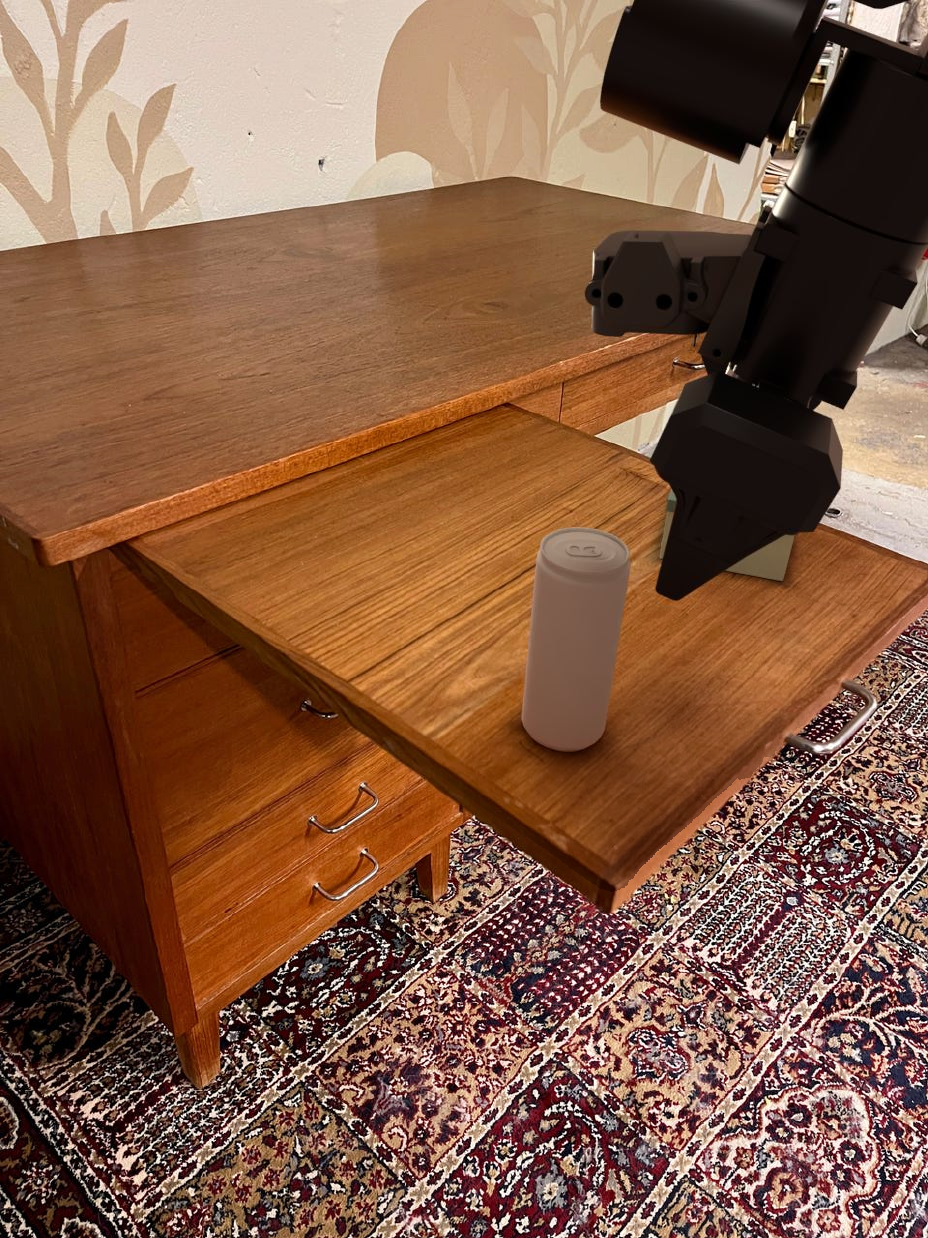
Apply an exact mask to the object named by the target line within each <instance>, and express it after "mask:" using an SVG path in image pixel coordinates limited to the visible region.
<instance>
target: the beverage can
mask: <svg viewBox="0 0 928 1238" xmlns="http://www.w3.org/2000/svg"><path fill="white" fill-rule="evenodd" d="M630 552H631V551H630V549H629V547H628V545H627V544H626V543H625V542H624V541H623V540H622V539H621V538H619V537H618V536H616V535H615V534H612V533H609V532H608V531H605V530H601V529H596V528H593V527H582V526H578V527H577V526H576V527H575V526H574V527H573V526H572V527H571V526H570V527H564V528H559V529H557V530H554V531H551V532H550V533H548V534H547V535H545V536H544V537H543V539H542V540H541V541H540V545H539V549H538V551H537V554H536V560H535V570H534V571H535V572H534V578H533V589H532V601H531V602H532V603H531V611H530V622H529V634H528V644H527V655H526V665H525V676H524V688H523V698H522V706H521V707H522V708H521V722H522V723H521V724H522V726H523V728H524V729H525V731H526V732H527V734H528V735H529V736H530V737H531V739H532V740H533V741H535V742H536V743H538V744H539V745H542V746H544V747H546V748H548V749H551V750H553V751H558V752H564V753H567V752H568V753H569V752H578V751H582V750H585V749H586V748H588V747H590V746H593V744H595V743H596V742H598V741H599V739H601V738H602V736H603V734H604V732H605V730H606V725H607V719H608V714H609V713H608V712H609V706H610V701H611V700H610V699H611V693H612V686H613V681H614V674H615V668H616V663H617V658H618V657H617V656H618V650H619V644H620V643H619V642H620V636H621V630H622V624H623V618H624V613H625V605H626V600H627V595H628V593H627V592H628V587H629V582H630V581H629V580H630V574H631V560H630V557H631V556H630V555H631V553H630Z"/></svg>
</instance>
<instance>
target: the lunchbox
mask: <svg viewBox="0 0 928 1238" xmlns="http://www.w3.org/2000/svg"><path fill="white" fill-rule="evenodd" d="M675 506H676V497H675V494H674V492H673V491H672V489H671V488H670V492H669V495H668V498H667V503H666V508H665V512H666V517H665V522H664V529H663V533H662V540H661V544H660V545H661V546H660V552H659V557H658V558H659V559H661V560H662V559H663V555H664V551H665V547H666V543H667V539H668V535H669V531H670V527H671V522H672V518H673V514H674V510H675ZM795 536H796V535H784V536H783V537H781V538H779V539H777V540H776V541H774V542H772V543H770V544H769V545H767V546H765V547H763V548H761V549H760V550H758V551H756V552H754V553H753V554H751V555H749V556H748V557H746V558H744V559H743V560H741V561H740V562H738V563H736V564H735V565H733V566H731V567H730V568H728V569H727V570H725V571H724V572H731V573H736V574H742V575H746V576H751V577H757V578H764V579H768V580H773V581H779V582H783V581H784V578H785V574H786V570H787V567H788V563H789V559H790V556H791V552H792V549H793V544H794V540H795Z"/></svg>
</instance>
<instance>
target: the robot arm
mask: <svg viewBox="0 0 928 1238" xmlns="http://www.w3.org/2000/svg"><path fill="white" fill-rule="evenodd" d="M829 1H830V0H633V3H632V4H631V5H626V6H625V7H624V10H623V12H622V14H621V17H620V20H619V23H618V26H617V28H616V32H615V35H614V38H613V41H612V45H611V47H610V51H609V54H608V58H607V62H606V66H605V70H604V74H603V77H602V78H603V79H602V84H601V89H600V96H599V109H600V110H601V111H602V112H604V113H607V114H610V115H612V116H615V117H617V118H619V119H622V120H625V121H627V122H630V123H632V124H635V125H637V126H640V127H643V128H645V129H647V130H649V131H653V132H654V133H658V134H660V135H663V136H666V137H667V138H671V139H673V140H675V141H678V142H680V143H684V144H685V145H688V146H691V147H694V148H696V149H698V150H701V151H703V152H706V153H707V154H708V153H709V154H711V155H714V156H716V157H719V158H721V159H723V160H727V161H729V162H731V163H734V164H736V165H740V164H741V163H742V161H743V159H744V157H745V156H746V153H747V151H748V149H749V147H750V146H753V147H756V148H758V149H761V148H762V146H763V144H764V141H765V139H767V141H766V142H767V143H769V144H772V145H774V146H777V147H779V148H780V147H781V146H782V144H783V142H784V140H785V138H786V135H787V133H788V131H789V129H790V127H791V124H792V122H793V121H794V118H795V116H796V113H797V112H798V110H799V107H800V105H801V102H802V100H803V98H804V96H805V94H806V92H807V90H808V88H809V86H810V84H811V81H812V79H813V76H814V74H815V72H816V70H817V67H818V65H819V64H820V61H821V59H822V56H823V54H824V52H825V50H826V48H827V45H828V44H829V43H831V44H833V45H837V46H840V47H843V48H845V49H846V50H845V52H844V54H843V57H842V59H841V62H840V63H839V66H838V68H837V69H836V72H835V73H834V76H833V78H832V80H831V82H830V85H829V87H828V89H827V91H826V93H825V95H824V97H823V100H822V102H821V104H820V106H819V108H818V110H817V113H816V115H815V117H814V119H813V121H812V123H811V125H810V128H809V129H808V132H807V134H806V136H805V138H804V140H803V143H802V144H801V147H800V148H799V151H798V153H797V155H796V157H795V160H794V162H793V163H792V166H791V167H790V170H789V172H788V175H787V177H786V179H785V182H784V183H783V186H782V188H781V190H780V192H779V194H778V196H777V198H776V199H775V200H774V203H773V205H772V206H770V205H766V204H765V205H764V207H763V209H762V211H761V214H760V216H759V217H758V220H757V222H756V224H755V226H754V228H753V231H752V233H751V234H748V233H747V234H746V233H723V232H718V231H717V232H716V231H703V230H702V231H701V230H700V231H699V230H698V231H697V230H634V229H633V230H620V231H616V232H611V233H610V234H609V235H607V236H606V238H605V239H603V240H602V241H601V242H600V244H598V245H597V246H596V247H595V248H594V250H593V251H592V274H591V275H592V276H591V280H590V281H589V283H588V285H586V287H585V289H584V298H585V300H586V302H587V304H589V305H591V325H590V327H591V331H592V332H593V333H594V334H595V335H598V336H603V337H611V338H621V337H623V336H624V335H625V334H627V333H631V334H633V333H634V334H651V335H652V334H655V335H673V336H674V335H675V336H693V335H700V334H701V335H702V334H704V333H705V335H704V337H703V338H702V341H701V344H700V345H699V348H698V350H697V351H696V353H697V354H698V355H700V357H701V361H702V363H703V366H704V369H705V372H706V374H707V375H704V376H702V377H698V378H695V379H693V380H690V381H688V382H686V383H684V384H683V386H682V389H681V391H680V393H679V396H678V397H677V400H676V402H675V404H674V407H673V409H672V411H671V413H670V415H669V417H668V420H667V422H666V424H665V426H664V428H663V430H662V433H661V435H660V437H659V439H658V441H657V442H656V443H657V444H655V445H656V446H655V447H654V450H653V452H652V455H651V457H650V459H649V462H650V463H651V465H652V466H653V467H654V470H655V472H656V474H657V476H658V477H659V478H660V479H661V480H662V481H664V482H665V483H667V484H668V485H669V487H670V490H671V489H672V491H673V492H674V494H675V497H676V506H675V510H674V514H673V518H672V522H671V527H670V531H669V535H668V539H667V543H666V547H665V551H664V555H663V559H661V563H660V567H659V570H658V576H657V579H656V584H655V586H654V587H655V588H654V589H655V592H656V593H657V594H658V595H660V596H663V597H664V598H667V599H669V600H671V601H675V602H678V601H680V600H682V599H684V598H686V596H688V595H690V594H691V593H693V592H694V591H697V590H698V589H699V588H701V587H702V586H703V585H705V584H706V583H708V582H710V581H712V580H713V579H715V578H716V577H718V576H719V575H720V574H722V573H724V572H726V571H725V570H727V569H728V568H730V567H731V566H733V565H735V564H736V563H738V562H740V561H741V560H743V559H744V558H746V557H748V556H749V555H751V554H753V553H754V552H756V551H758V550H760V549H761V548H763V547H765V546H767V545H769V544H770V543H772V542H774V541H776V540H777V539H779V538H781V537H783V536H784V535H795V536H797V535H799V534H801V533H814V532H815V530H816V529H817V528H818V526H819V524H820V523H821V521H822V520H823V518H824V516H825V514H826V513H827V512H828V510H829V508H830V506H831V505H832V503H833V502H834V500H835V499H836V497H837V495H838V494H839V492H840V491H841V488H842V473H843V455H844V449H843V446H842V443H841V441H840V437H839V434H838V431H837V429H836V425H835V423H834V421H833V418H832V417H829V416H827V415H826V414H822V413H820V412H818V411H815V410H816V409H817V408H818V407H819V406H820V405H821V403H822V402H824V403H826V404H827V405H830V406H833V407H835V408H838V409H840V410H842V411H844V410H845V408H846V406H847V405H848V403H849V401H850V400H851V398H852V397H853V394H854V393H855V391H856V390H857V388H858V369H859V367H860V366H861V364H862V361H864V358H865V356H866V355H867V353H868V351H869V349H870V348H871V346H872V344H873V342H874V341H875V339H876V337H877V336H878V334H879V333H880V331H881V329H882V327H883V325H884V323H885V322H886V321H887V319H888V317H889V315H890V313H891V311H892V310H893V308H896V309H899V310H901V311H903V309H904V308H905V306H906V304H907V303H908V301H909V299H910V298H911V296H912V294H913V292H914V291H915V289H916V288H917V285H918V284H919V282H918V276H917V275H918V274H917V267H918V265H919V263H920V261H921V259H922V258H923V256H924V255H925V254H926V251H927V250H928V32H927V33H926V35H925V37H924V38H923V40H922V41H921V42H920V45H919V47H918V49H916V48H914V47H911V46H908V45H905V44H902V43H899V42H897V41H894V40H891V39H888V38H886V37H883V36H880V35H877V34H874V33H871V32H869V31H867V30H864V29H861V28H858V27H855V26H853V25H850V24H847V23H845V22H842V21H839V20H837V19H835V18H832V17H829V16H826V15H824V12H825V9H826V7H827V5H828V3H829ZM851 1H852V2H855V3H858V4H861V5H863V6H866V7H868V8H871V9H874V10H884V9H887V8H890V7H894V6H898V5H901V4H903V3H907V2H910V1H911V0H851ZM823 15H824V16H823Z"/></svg>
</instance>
